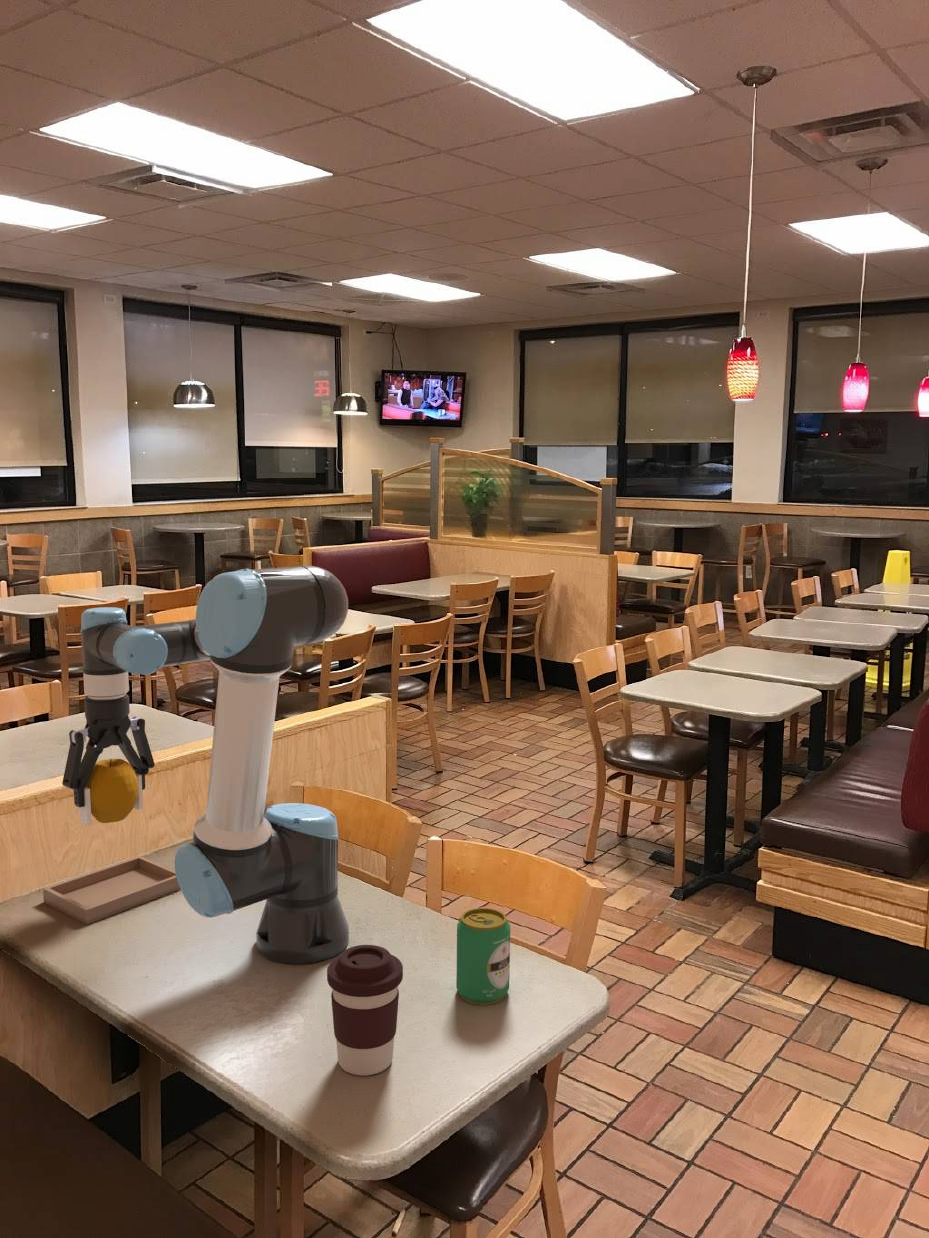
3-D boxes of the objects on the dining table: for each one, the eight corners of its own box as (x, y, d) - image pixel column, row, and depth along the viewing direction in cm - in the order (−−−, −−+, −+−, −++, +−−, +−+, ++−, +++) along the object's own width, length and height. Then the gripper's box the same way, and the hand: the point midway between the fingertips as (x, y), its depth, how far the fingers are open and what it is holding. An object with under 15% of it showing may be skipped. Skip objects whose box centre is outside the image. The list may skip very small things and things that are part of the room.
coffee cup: (403, 1040, 140) (403, 938, 138) (401, 1083, 131) (401, 974, 128) (331, 1040, 140) (330, 938, 138) (324, 1084, 130) (323, 974, 128)
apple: (106, 835, 177) (103, 770, 175) (71, 823, 182) (68, 760, 181) (151, 819, 185) (149, 756, 183) (116, 808, 190) (114, 748, 189)
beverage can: (486, 1012, 148) (487, 934, 146) (445, 993, 153) (446, 918, 151) (519, 991, 154) (521, 916, 152) (479, 973, 159) (480, 901, 157)
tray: (140, 868, 198) (140, 855, 198) (184, 887, 189) (184, 874, 189) (43, 901, 182) (43, 888, 182) (86, 924, 174) (86, 910, 173)
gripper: (148, 681, 191) (152, 795, 195) (35, 702, 174) (42, 827, 177) (172, 687, 186) (176, 804, 190) (59, 709, 169) (65, 837, 173)
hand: (111, 815), depth 184 cm, fingers closed on apple, 10 cm apart
